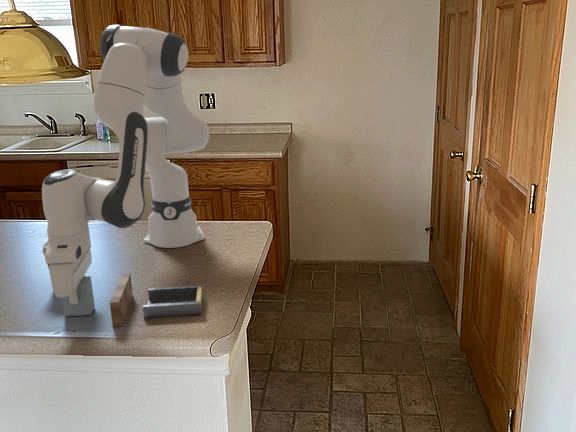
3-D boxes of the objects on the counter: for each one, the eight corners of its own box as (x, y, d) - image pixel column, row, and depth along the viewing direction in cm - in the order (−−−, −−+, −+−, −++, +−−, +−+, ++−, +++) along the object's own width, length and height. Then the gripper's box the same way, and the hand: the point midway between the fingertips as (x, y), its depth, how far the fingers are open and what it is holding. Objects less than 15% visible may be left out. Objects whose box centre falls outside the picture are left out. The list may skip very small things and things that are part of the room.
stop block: (69, 308, 137) (64, 277, 135) (94, 306, 138) (90, 276, 135) (64, 316, 133) (59, 284, 131) (90, 314, 134) (86, 283, 132)
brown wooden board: (124, 295, 144) (122, 273, 142) (132, 295, 144) (130, 273, 142) (112, 326, 129) (109, 302, 127) (121, 326, 129) (118, 302, 127)
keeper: (149, 299, 142) (148, 288, 141) (202, 296, 143) (201, 285, 142) (144, 318, 132) (142, 306, 131) (200, 315, 133) (200, 303, 132)
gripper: (67, 227, 140) (75, 279, 144) (41, 259, 120) (51, 318, 125) (94, 226, 140) (100, 278, 145) (72, 258, 121) (81, 316, 125)
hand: (77, 297), depth 135 cm, fingers closed on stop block, 4 cm apart
